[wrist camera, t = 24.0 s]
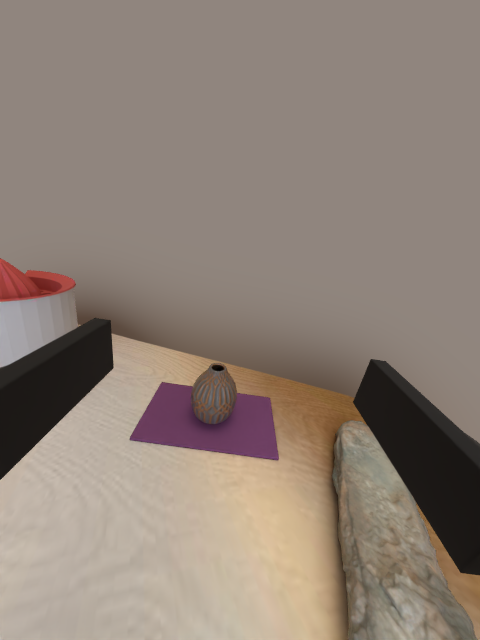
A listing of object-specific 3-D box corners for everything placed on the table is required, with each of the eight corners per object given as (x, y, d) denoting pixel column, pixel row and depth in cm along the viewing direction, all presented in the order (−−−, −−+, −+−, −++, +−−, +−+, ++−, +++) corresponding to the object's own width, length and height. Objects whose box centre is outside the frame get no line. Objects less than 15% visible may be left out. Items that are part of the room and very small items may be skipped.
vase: (218, 440, 31) (227, 389, 28) (179, 418, 34) (183, 369, 31) (240, 410, 37) (249, 365, 34) (205, 393, 40) (211, 350, 37)
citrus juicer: (74, 349, 46) (62, 249, 39) (95, 398, 35) (84, 271, 28) (-45, 371, 36) (-91, 240, 29) (-70, 451, 25) (-154, 269, 18)
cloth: (269, 399, 41) (270, 397, 41) (278, 460, 30) (278, 458, 30) (161, 383, 41) (161, 381, 41) (129, 440, 30) (129, 437, 29)
